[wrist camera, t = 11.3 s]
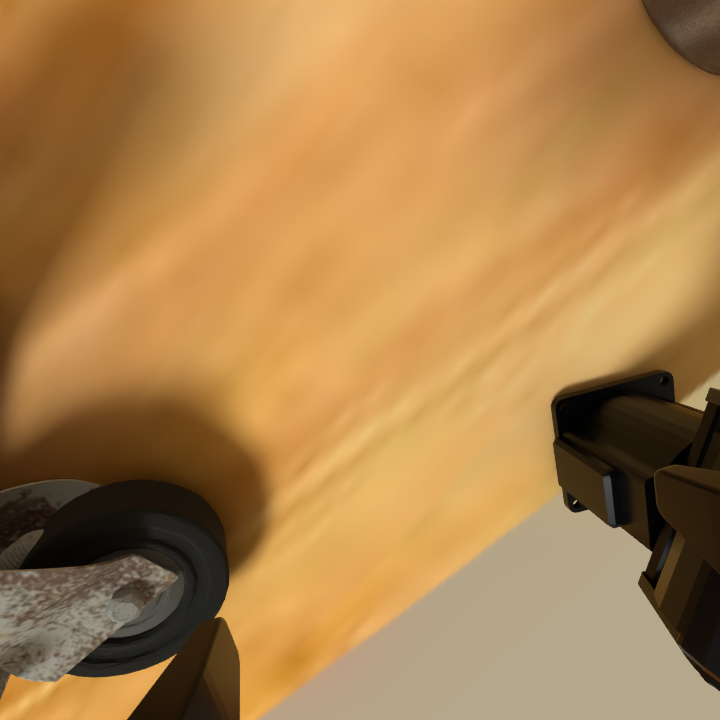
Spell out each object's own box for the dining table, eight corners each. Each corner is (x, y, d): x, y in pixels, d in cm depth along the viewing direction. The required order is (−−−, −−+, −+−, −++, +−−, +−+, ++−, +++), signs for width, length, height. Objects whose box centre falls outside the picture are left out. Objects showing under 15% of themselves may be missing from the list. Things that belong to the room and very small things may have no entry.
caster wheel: (253, 522, 25) (103, 648, 23) (95, 378, 20) (-105, 528, 19) (275, 615, 19) (75, 792, 17) (57, 442, 14) (-242, 669, 13)
